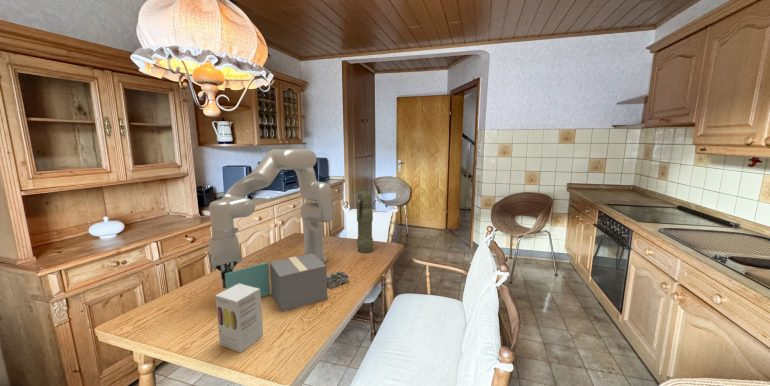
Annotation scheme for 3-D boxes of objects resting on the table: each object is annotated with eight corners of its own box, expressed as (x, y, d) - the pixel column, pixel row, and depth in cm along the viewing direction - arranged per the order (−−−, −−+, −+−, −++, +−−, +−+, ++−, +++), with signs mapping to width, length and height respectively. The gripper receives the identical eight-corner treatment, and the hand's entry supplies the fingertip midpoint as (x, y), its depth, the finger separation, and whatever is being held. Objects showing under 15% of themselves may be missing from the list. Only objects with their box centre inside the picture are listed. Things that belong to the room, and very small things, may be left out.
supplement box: (218, 345, 98) (213, 294, 95) (242, 328, 107) (238, 282, 104) (241, 353, 95) (236, 301, 92) (264, 336, 103) (260, 287, 100)
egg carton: (330, 290, 134) (329, 281, 133) (321, 284, 140) (320, 275, 139) (350, 282, 141) (350, 273, 140) (341, 276, 147) (341, 268, 146)
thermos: (353, 252, 177) (351, 191, 171) (363, 246, 187) (362, 187, 181) (366, 255, 173) (366, 192, 167) (376, 248, 183) (376, 188, 177)
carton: (271, 294, 130) (269, 261, 128) (313, 283, 140) (312, 252, 137) (281, 312, 117) (279, 276, 114) (327, 299, 126) (326, 265, 124)
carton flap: (262, 287, 135) (260, 252, 132) (270, 293, 129) (267, 257, 127) (222, 300, 124) (218, 263, 122) (228, 307, 119) (224, 269, 116)
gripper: (241, 227, 125) (245, 271, 128) (197, 235, 115) (202, 282, 118) (248, 231, 120) (251, 277, 123) (202, 240, 109) (207, 289, 113)
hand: (227, 279), depth 121 cm, fingers closed
